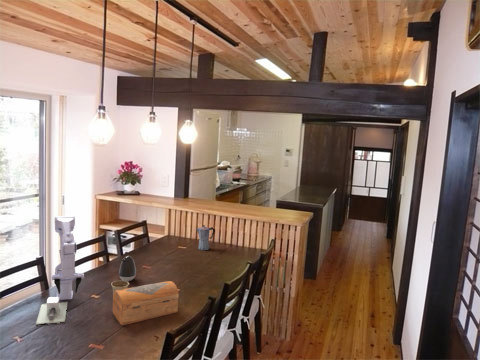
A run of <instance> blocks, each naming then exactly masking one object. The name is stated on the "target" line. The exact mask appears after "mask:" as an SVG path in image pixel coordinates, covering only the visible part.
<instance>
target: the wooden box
mask: <svg viewBox="0 0 480 360" xmlns="http://www.w3.org/2000/svg"><path fill="white" fill-rule="evenodd" d="M179 298H180V292H179V290H178V287H177V285H176V284H175V282H174V281H170V280H169V281H162V282H161V281H160V282H156V283H149V284H144V285H139V286H134V287H133V286H132V287H128V288H127V289H123V290H117V291H114V293H113V292H112V314H113V315H114V317H115V318H116V320H117V321H118V323H119V324H120V325H121V326H125V325H129V324H133V323H138V322H142V321H147V320H151V319H155V318H160V317H162V316H163V317H164V316H168V315H172V314H176V313H177V312H178V311H179V302H180V301H179Z"/></svg>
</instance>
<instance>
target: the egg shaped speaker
mask: <svg viewBox="0 0 480 360" xmlns="http://www.w3.org/2000/svg"><path fill="white" fill-rule="evenodd" d="M118 270H119V271H118V277H119V278H120V279H121V280H122V281H127V282H130V281H133V280H134V279H135V277H136V275H137V268H136V263H135V261H134V259H133V257H132V256H131V255H126V256H125V257H123V258H122V259H121V263H120V266H119V269H118ZM121 280H120V281H121Z"/></svg>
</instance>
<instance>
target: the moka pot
mask: <svg viewBox="0 0 480 360" xmlns="http://www.w3.org/2000/svg"><path fill="white" fill-rule="evenodd" d="M195 230H196V232H197V234H198V238H199V240H198V246H197V247H198V250H199V251H208V250H209V249H210V245H209V239H210V240H211V239H213V236H214V233H215V228H213V227H207V226H206V225H205V224H203V225H202V226H201V227H197V228H195ZM210 231H212V233H211V236H210ZM209 236H210V237H209Z"/></svg>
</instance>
